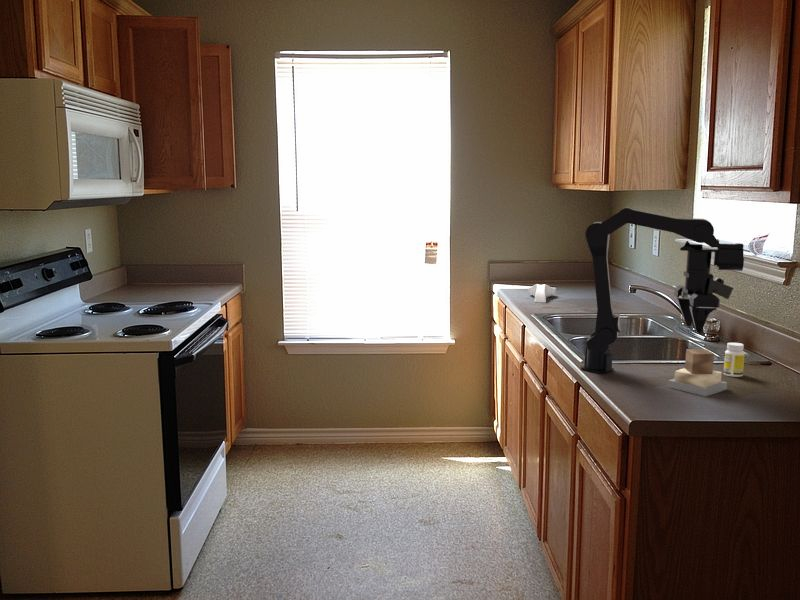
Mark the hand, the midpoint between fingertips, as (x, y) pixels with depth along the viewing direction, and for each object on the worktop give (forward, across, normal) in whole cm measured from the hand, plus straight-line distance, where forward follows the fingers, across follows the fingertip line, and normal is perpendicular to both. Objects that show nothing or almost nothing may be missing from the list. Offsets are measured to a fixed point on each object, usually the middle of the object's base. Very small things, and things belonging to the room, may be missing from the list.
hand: (693, 329), depth 196 cm
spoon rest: (+13, +128, +26) cm, 131 cm away
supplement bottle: (+13, +6, -13) cm, 19 cm away
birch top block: (+11, -9, +1) cm, 15 cm away
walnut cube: (+9, -9, +1) cm, 13 cm away
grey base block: (+14, -9, +1) cm, 17 cm away
